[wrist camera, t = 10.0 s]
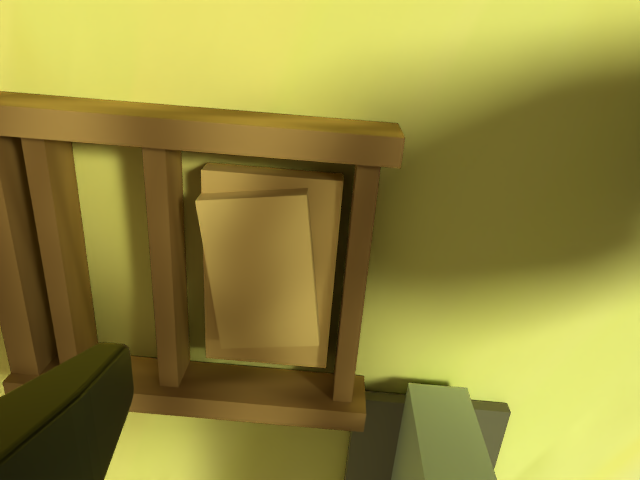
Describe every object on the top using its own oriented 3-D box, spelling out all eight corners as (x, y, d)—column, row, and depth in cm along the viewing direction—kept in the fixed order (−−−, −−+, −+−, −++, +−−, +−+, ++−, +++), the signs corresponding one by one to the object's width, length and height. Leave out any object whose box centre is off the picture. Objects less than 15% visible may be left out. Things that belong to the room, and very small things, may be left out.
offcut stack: (343, 173, 19) (343, 188, 18) (326, 353, 23) (325, 380, 21) (206, 162, 19) (194, 176, 18) (210, 343, 23) (200, 369, 21)
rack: (397, 123, 18) (405, 138, 16) (361, 393, 24) (363, 432, 21) (-16, 89, 19) (-64, 100, 16) (38, 365, 24) (6, 400, 22)
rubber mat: (506, 403, 23) (510, 412, 23) (476, 508, 26) (479, 518, 26) (355, 390, 24) (355, 398, 23) (342, 495, 26) (342, 506, 26)
